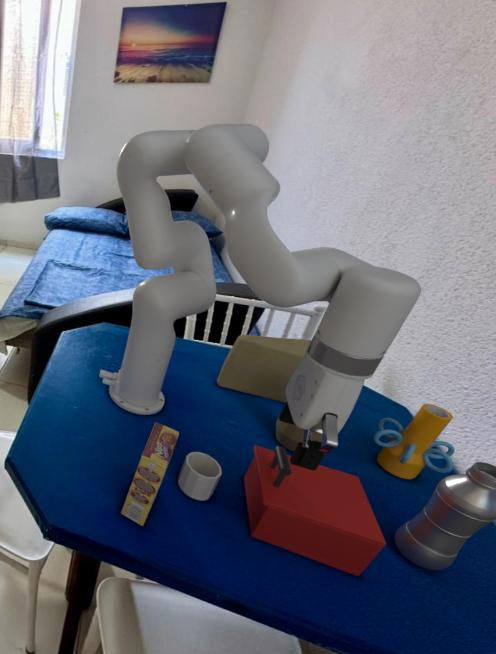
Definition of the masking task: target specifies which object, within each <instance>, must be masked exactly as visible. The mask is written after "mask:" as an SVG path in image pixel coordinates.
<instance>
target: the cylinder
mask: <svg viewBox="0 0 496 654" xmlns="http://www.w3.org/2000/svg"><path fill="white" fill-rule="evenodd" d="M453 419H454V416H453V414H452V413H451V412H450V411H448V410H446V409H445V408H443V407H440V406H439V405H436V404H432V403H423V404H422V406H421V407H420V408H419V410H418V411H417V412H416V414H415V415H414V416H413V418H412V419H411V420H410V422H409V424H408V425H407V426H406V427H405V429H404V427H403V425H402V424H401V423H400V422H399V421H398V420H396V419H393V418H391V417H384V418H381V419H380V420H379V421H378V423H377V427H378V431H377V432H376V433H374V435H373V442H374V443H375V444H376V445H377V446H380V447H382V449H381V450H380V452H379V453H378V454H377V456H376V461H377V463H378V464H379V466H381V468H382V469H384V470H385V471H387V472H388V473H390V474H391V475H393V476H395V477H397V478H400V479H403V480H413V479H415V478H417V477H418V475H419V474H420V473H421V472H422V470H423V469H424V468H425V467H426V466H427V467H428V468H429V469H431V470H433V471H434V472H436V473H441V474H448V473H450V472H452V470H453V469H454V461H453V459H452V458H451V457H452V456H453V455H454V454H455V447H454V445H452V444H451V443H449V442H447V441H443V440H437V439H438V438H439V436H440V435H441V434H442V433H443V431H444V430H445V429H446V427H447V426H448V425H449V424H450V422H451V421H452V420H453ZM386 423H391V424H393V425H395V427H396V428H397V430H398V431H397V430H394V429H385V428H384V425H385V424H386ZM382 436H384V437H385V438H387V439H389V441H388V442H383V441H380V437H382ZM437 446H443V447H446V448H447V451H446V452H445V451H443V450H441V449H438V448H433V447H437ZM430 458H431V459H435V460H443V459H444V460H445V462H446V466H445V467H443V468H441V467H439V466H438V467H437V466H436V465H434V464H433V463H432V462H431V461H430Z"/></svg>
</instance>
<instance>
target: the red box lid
mask: <svg viewBox="0 0 496 654" xmlns="http://www.w3.org/2000/svg"><path fill="white" fill-rule="evenodd" d="M252 449H253V455H254V457H255V461H256V467H257V473H258V480H259V486H260V492H261V498H262V504H263V505H265V506H268V507H271V508H274V509H277V510H280V511H282V512H285V513H288V514H291V515H294V516H297V517H300V518H303V519H305V520H308V521H311V522H314V523H317V524H320V525H323V526H325V527H328V528H331V529H334V530H337V531H340V532H343V533H345V534H348V535H351V536H354V537H357V538H360V539H363V540H366V541H368V542H371V543H374V544H377V545H380V546H383V548H384V547H385V546H386V545H387V542H386V539H385V537H384V535H383V532H382V530H381V528H380V525H379V523H378V521H377V518H376V516H375V514H374V511H373V509H372V507H371V503H370V502H369V499H368V497H367V494H366V492H365V489H364V486H363V485H362V483H361V482H362V481H361V480H360V477H359V476H356V475H353V474H350V473H346V472H345V471H340V470H338V469H334V468H331V467H327V466H324V465H321V464H319V466H318V467H317V469H316V470H310V469H306V468H303V467H300V466H297V465H293V464H291V463H290V458H291V456H292V455H288V453H287V448H285V447H284V446H283V445H282V446H281V445H276V446H275V447H274V449H273V450H272V449H268V448H265V447H263V446H259V445H256V444H254V446H253V448H252Z"/></svg>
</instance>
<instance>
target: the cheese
mask: <svg viewBox="0 0 496 654" xmlns="http://www.w3.org/2000/svg"><path fill="white" fill-rule="evenodd" d="M311 340H312V339H301V338H288V337H275V336H274V337H273V336H262V335H255V334H254V335H253V334H240V335H239V336H238V337H237V338H236V340H235V341H234V343H233V345H232V347H231V349H230V350H229V352H228V354H227V355H226V358H225V359H224V361H223V364H222V366H221V369H220V372H219V374H218V377H217V379H216V383H217V385H218V386H219V387H220V388H224V389H229V390H232V391H238V392H241V393H245V394H248V395H253V396H256V397H261V398H264V399H270V400H273V401H277V402H281V403H284V404H285V403H286V401H287V398H286V394H285V390H286V387H287V385H288V383H289V381H290V379H291V377H292V376H293V374H294V372H295V370H296V368H297V367H298V365H299V363H300V362H301V360H302V358H303V357H304V355H305V354H306V351H307V349H308V347H309V344H310V342H311Z"/></svg>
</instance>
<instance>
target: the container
mask: <svg viewBox="0 0 496 654" xmlns="http://www.w3.org/2000/svg"><path fill="white" fill-rule="evenodd" d="M222 475H223V471H222V467H221V465H220V464H219V462H218V460H216V459H215V458H214V457H212V456H211V455H209V454H207V453H204V452H201V451H192V452H189V453H188V454H187V455H186V456H185V459H184V461H183V464H182V466H181V468H180V472H179V474H178V479H177V484H178V486H179V488H180V490H181V491H182V492H183V493H184V494H185V495H186V496H188V497H189V498H190V499H193V500H196V501H207V500H210V498H211V497H212V495H213V494H214V492H215V490H216V487H217V485H218V484H219V481H220V479H221V477H222Z"/></svg>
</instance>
